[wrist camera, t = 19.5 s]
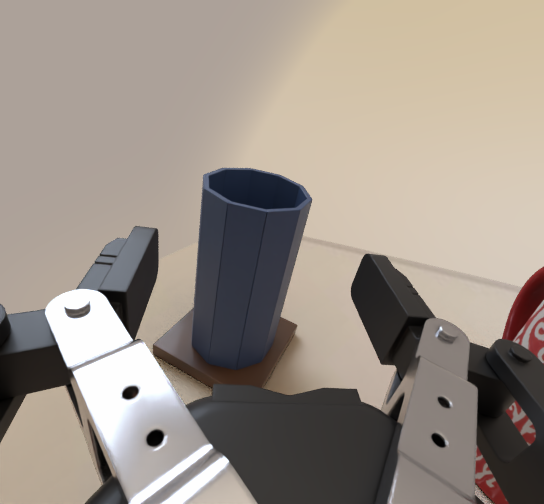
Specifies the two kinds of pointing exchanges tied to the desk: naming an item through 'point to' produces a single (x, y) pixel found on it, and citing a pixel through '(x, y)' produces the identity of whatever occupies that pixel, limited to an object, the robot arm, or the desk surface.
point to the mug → (536, 338)
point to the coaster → (183, 356)
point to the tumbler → (244, 262)
